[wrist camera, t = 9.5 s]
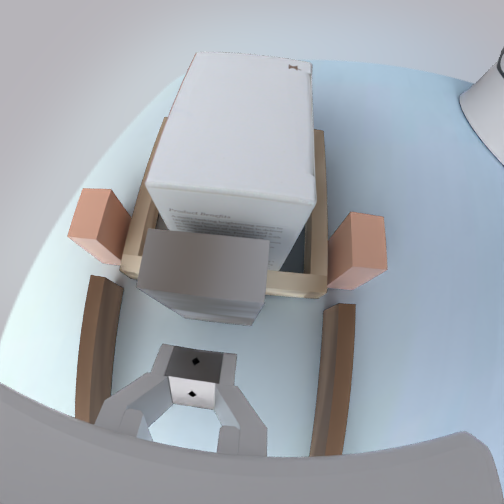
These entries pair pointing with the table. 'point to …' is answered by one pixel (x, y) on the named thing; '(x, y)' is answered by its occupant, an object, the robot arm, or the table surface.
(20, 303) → the table surface
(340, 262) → the posts
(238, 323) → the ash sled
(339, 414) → the walnut channel
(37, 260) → the table surface
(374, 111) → the table surface
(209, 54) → the small box
